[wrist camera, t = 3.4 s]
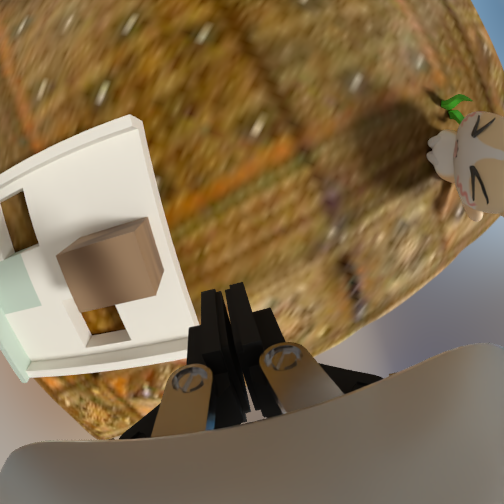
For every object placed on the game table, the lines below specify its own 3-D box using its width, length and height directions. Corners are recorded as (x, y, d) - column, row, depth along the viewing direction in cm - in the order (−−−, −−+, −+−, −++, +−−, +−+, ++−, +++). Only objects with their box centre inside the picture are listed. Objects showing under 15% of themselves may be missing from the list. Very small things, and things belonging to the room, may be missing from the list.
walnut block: (147, 216, 23) (134, 231, 19) (164, 270, 25) (156, 295, 20) (79, 237, 23) (55, 255, 18) (98, 286, 24) (79, 312, 20)
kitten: (418, 83, 25) (518, 68, 11) (467, 110, 27) (555, 113, 13) (407, 203, 29) (510, 241, 15) (457, 214, 31) (543, 249, 17)
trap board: (142, 121, 23) (126, 112, 18) (201, 329, 30) (201, 361, 25) (-27, 201, 21) (-55, 210, 16) (37, 357, 28) (22, 382, 23)
